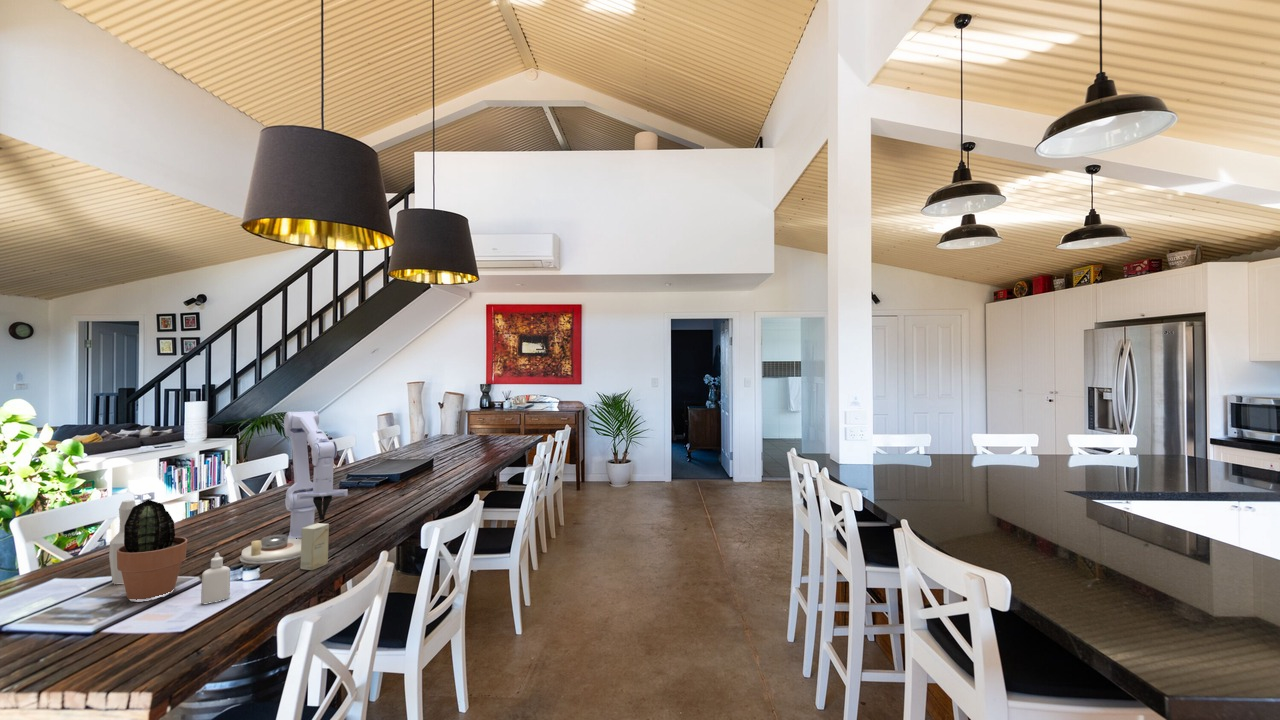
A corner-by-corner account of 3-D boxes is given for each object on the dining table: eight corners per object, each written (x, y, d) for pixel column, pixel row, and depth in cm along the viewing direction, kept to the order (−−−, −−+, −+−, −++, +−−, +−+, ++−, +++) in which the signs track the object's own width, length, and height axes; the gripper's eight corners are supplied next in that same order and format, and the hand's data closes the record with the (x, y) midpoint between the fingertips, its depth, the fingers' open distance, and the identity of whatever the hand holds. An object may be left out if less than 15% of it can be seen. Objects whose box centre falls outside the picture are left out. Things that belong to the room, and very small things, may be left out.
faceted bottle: (120, 587, 146) (124, 504, 146) (102, 584, 147) (105, 502, 147) (146, 578, 152) (149, 499, 152) (128, 576, 153) (131, 497, 154)
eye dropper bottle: (205, 598, 139) (207, 551, 140) (231, 596, 141) (233, 549, 141) (198, 605, 135) (200, 556, 135) (225, 602, 137) (227, 554, 137)
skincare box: (312, 570, 160) (313, 529, 160) (299, 569, 161) (300, 528, 161) (328, 563, 166) (329, 523, 166) (316, 562, 167) (317, 522, 167)
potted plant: (194, 592, 143) (198, 496, 144) (126, 611, 131) (130, 507, 132) (172, 581, 150) (176, 490, 151) (105, 598, 138) (110, 499, 139)
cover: (255, 550, 170) (255, 540, 170) (273, 543, 177) (273, 533, 177) (275, 551, 169) (276, 541, 169) (292, 544, 176) (293, 535, 176)
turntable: (226, 558, 166) (227, 540, 167) (276, 541, 184) (276, 524, 184) (276, 563, 163) (277, 545, 163) (322, 545, 181) (323, 528, 181)
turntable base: (244, 549, 177) (244, 547, 177) (312, 541, 187) (312, 540, 187) (234, 568, 161) (234, 566, 161) (309, 558, 170) (309, 556, 170)
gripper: (296, 482, 174) (295, 524, 174) (348, 478, 181) (346, 519, 181) (298, 478, 180) (296, 519, 180) (348, 475, 187) (346, 514, 187)
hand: (322, 519), depth 181 cm, fingers closed
